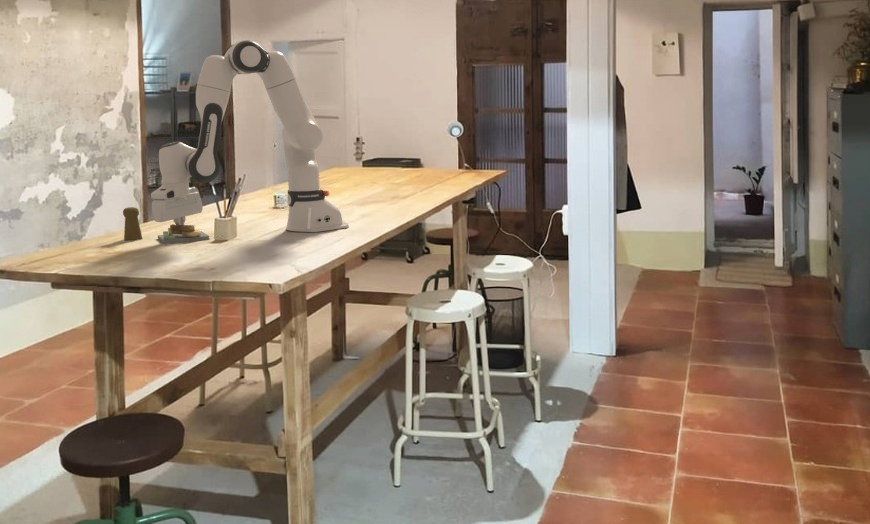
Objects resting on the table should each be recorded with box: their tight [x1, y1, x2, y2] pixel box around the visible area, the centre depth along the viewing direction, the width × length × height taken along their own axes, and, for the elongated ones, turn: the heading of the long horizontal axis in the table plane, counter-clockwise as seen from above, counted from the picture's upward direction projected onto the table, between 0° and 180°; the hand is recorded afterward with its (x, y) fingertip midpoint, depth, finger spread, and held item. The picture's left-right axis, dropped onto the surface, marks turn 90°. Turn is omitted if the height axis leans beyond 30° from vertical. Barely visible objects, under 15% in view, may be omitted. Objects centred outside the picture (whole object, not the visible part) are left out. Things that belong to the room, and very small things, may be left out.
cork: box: [122, 206, 143, 242], centre depth 306 cm, size 6×6×11 cm
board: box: [157, 227, 210, 245], centre depth 305 cm, size 15×11×4 cm
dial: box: [169, 223, 201, 237], centre depth 303 cm, size 10×6×4 cm, turn 81°
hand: (180, 230), depth 305 cm, fingers closed, pressing on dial
